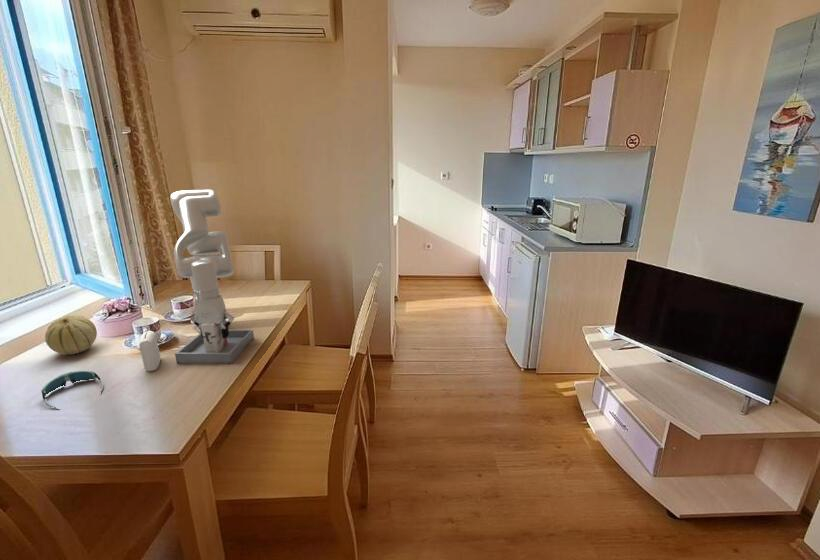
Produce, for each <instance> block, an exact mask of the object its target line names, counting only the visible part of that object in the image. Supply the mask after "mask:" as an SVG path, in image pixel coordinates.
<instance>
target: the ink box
mask: <svg viewBox="0 0 820 560" xmlns="http://www.w3.org/2000/svg"><path fill="white" fill-rule="evenodd" d="M222 329H223V328H222V327H221V325H220V324H215V323H205V324H202V325H201V330H202V335H203V340H204V345H205V350H206V353H219V351H220V350H221V349H222V348H223V347H224V346H225V345H226V344H227V343H228V342H227V337H226V338H225V339H223V337H222V331H221V330H222Z"/></svg>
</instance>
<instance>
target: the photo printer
mask: <svg viewBox="0 0 820 560" xmlns="http://www.w3.org/2000/svg"><path fill="white" fill-rule="evenodd" d="M138 346H139V350H140V354H141V355H140V356H141V360H142V363H143V367H144V370H145V371H146V372H154V371H155V370H157V369H158V368H159V366H160V363H161V358H162V357H161V353H160V349H159V344H158V339H157V336H156V334H155V332H154V331H152V330H148V331H147V330H146V331H145V332H143V333H142V334H141V336H140V337H139V342H138Z"/></svg>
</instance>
